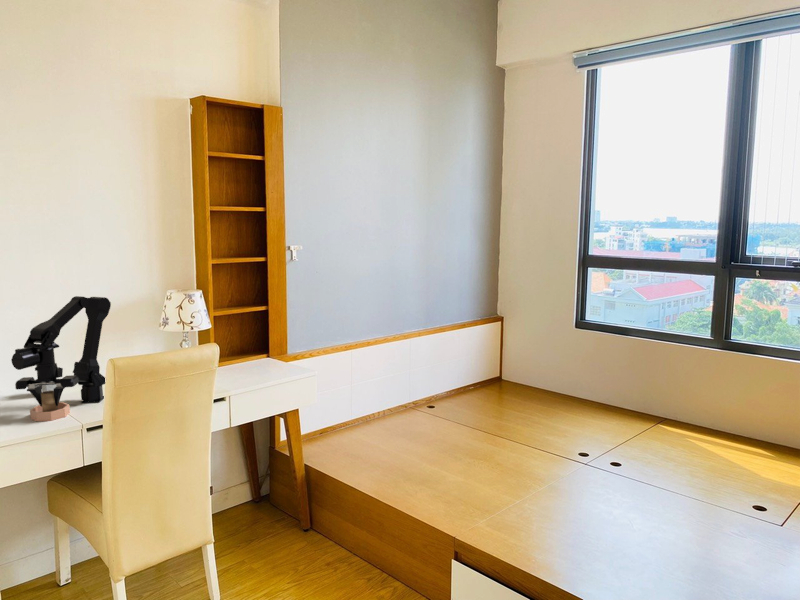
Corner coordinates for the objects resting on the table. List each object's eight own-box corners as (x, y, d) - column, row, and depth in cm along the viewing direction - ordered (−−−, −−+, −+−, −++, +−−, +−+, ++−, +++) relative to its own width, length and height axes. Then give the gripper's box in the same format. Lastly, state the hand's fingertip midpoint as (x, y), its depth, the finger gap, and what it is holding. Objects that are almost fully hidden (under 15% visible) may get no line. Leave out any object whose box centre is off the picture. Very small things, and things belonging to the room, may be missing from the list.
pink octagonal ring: (73, 409, 227) (72, 401, 226) (61, 420, 216) (60, 411, 216) (40, 411, 225) (39, 403, 225) (26, 421, 214) (25, 413, 214)
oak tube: (59, 407, 223) (57, 389, 222) (54, 412, 218) (52, 393, 217) (45, 408, 222) (44, 390, 221) (40, 412, 218) (38, 394, 217)
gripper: (82, 355, 227) (86, 397, 229) (27, 358, 224) (31, 400, 227) (70, 363, 216) (74, 407, 218) (12, 366, 214) (17, 410, 216)
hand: (49, 406), depth 220 cm, fingers closed on oak tube, 4 cm apart
